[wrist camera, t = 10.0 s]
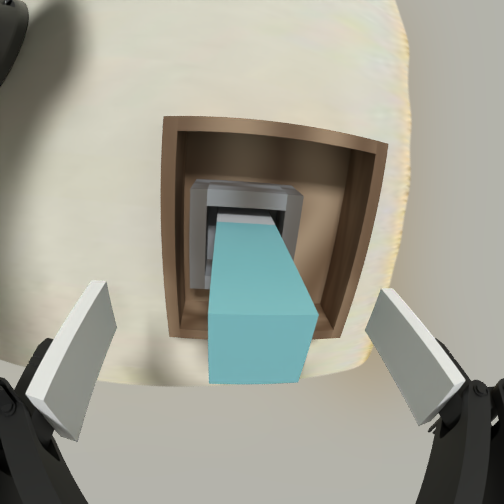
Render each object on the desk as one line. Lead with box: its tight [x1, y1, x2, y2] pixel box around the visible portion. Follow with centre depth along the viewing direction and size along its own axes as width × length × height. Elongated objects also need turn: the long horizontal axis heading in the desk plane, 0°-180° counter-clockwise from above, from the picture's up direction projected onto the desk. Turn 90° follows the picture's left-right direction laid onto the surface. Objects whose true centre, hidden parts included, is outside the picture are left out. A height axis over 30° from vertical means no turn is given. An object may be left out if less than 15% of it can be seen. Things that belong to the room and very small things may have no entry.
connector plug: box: [208, 206, 319, 384], centre depth 17 cm, size 4×4×14 cm
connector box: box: [161, 116, 388, 339], centre depth 22 cm, size 16×18×5 cm
